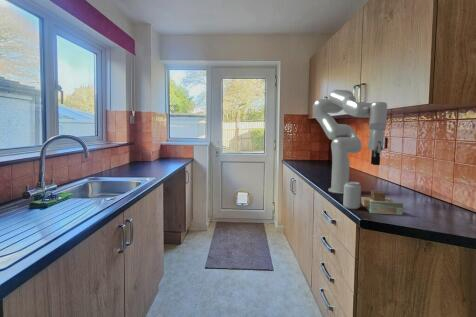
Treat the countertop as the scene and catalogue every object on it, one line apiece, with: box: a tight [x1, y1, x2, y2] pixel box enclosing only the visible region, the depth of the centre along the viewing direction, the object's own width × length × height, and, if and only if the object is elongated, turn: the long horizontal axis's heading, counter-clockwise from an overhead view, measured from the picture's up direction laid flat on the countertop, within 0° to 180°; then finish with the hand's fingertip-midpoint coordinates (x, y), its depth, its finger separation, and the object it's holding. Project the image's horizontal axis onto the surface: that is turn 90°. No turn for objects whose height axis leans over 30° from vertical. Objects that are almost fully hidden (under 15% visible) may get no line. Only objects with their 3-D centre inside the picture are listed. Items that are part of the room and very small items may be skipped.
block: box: [370, 189, 386, 201], centre depth 146 cm, size 5×5×4 cm
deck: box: [360, 196, 404, 216], centre depth 141 cm, size 18×13×5 cm
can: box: [342, 181, 362, 210], centre depth 142 cm, size 8×8×12 cm
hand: (375, 164), depth 152 cm, fingers open, 2 cm apart
